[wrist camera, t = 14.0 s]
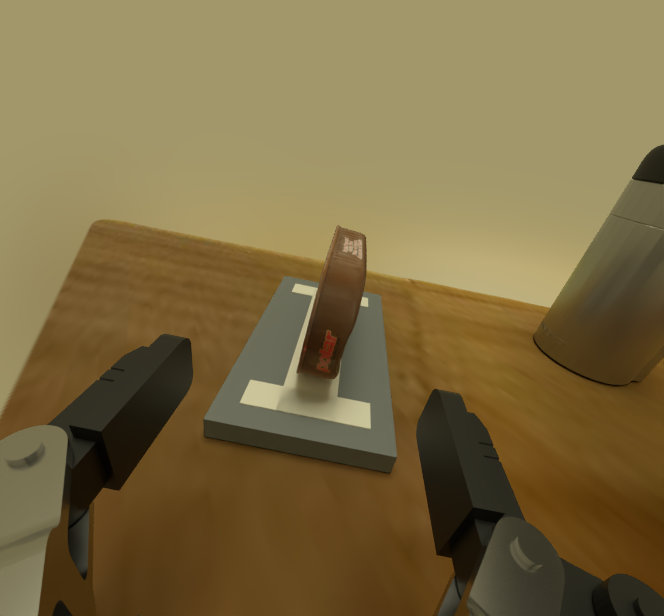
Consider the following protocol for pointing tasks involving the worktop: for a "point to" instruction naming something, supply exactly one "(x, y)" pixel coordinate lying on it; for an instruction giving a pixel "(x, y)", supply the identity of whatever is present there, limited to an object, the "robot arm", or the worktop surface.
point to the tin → (335, 305)
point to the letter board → (309, 388)
